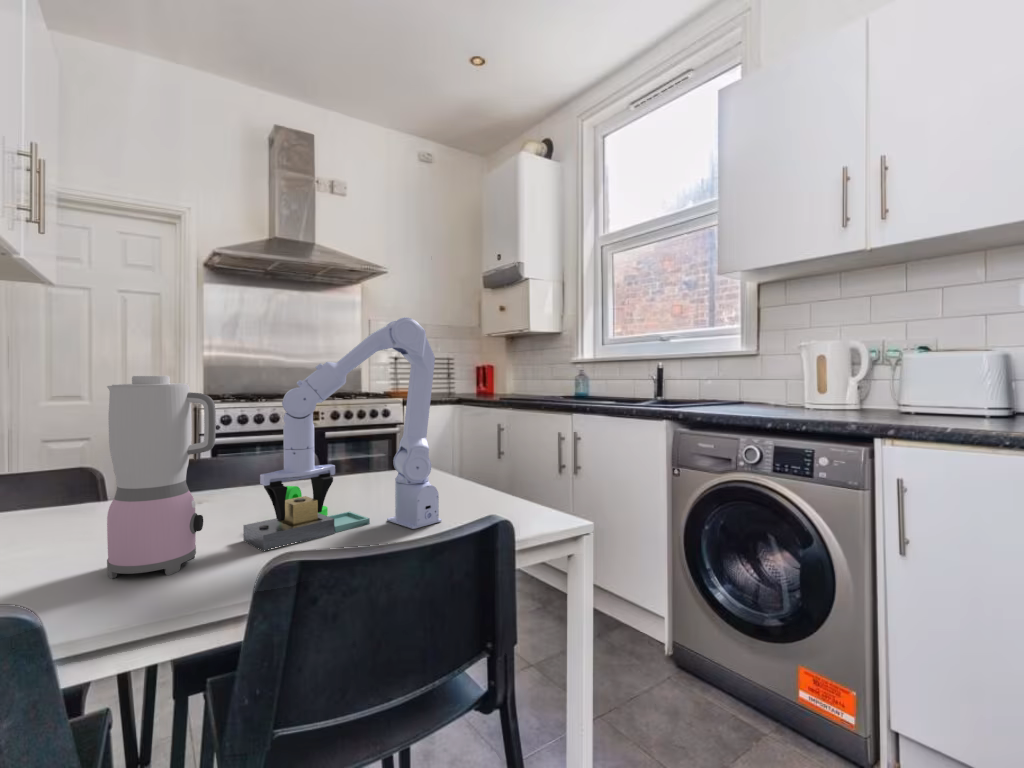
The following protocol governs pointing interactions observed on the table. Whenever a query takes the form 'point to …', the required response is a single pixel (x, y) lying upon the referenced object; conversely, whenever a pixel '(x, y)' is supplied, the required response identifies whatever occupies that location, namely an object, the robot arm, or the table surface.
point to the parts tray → (348, 521)
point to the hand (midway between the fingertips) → (299, 515)
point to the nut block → (300, 511)
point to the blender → (153, 474)
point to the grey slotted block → (285, 532)
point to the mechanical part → (296, 492)
